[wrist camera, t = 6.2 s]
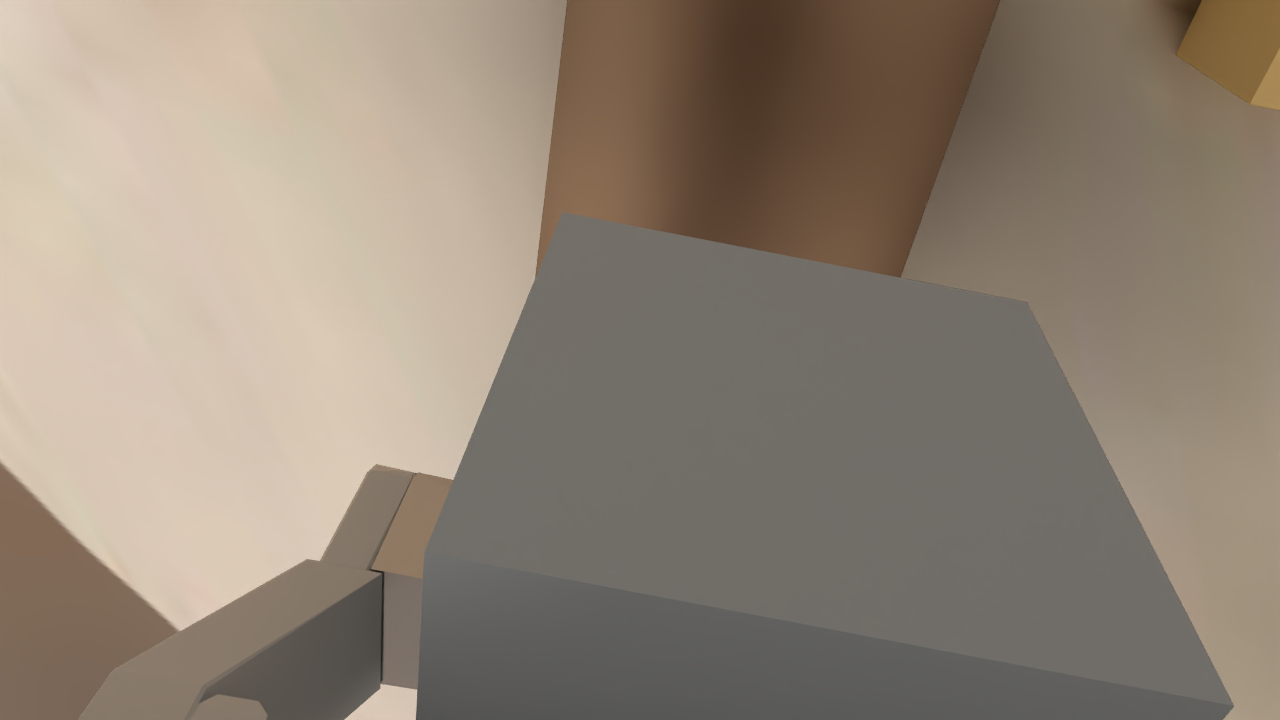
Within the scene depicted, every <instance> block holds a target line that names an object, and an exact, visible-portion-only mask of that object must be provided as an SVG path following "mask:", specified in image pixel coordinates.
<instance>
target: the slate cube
mask: <svg viewBox="0 0 1280 720" xmlns="http://www.w3.org/2000/svg"><path fill="white" fill-rule="evenodd" d="M1233 707H1234V705H1233V703H1232V701H1231V699H1230V697H1229V695H1228V693H1227V691H1226V689H1225V687H1224V685H1223V683H1222V681H1221V679H1220V677H1219V675H1218V673H1217V671H1216V670H1215V668H1214V666H1213V664H1212V662H1211V660H1210V658H1209V656H1208V654H1207V652H1206V650H1205V648H1204V646H1203V644H1202V642H1201V640H1200V638H1199V636H1198V634H1197V633H1196V631H1195V629H1194V627H1193V625H1192V623H1191V621H1190V619H1189V617H1188V615H1187V613H1186V611H1185V609H1184V607H1183V605H1182V603H1181V601H1180V599H1179V597H1178V595H1177V594H1176V592H1175V590H1174V588H1173V586H1172V584H1171V582H1170V580H1169V578H1168V576H1167V574H1166V572H1165V570H1164V568H1163V566H1162V564H1161V562H1160V560H1159V558H1158V557H1157V555H1156V553H1155V551H1154V549H1153V547H1152V545H1151V543H1150V541H1149V539H1148V537H1147V535H1146V533H1145V531H1144V529H1143V527H1142V525H1141V523H1140V521H1139V520H1138V518H1137V516H1136V514H1135V512H1134V510H1133V508H1132V506H1131V504H1130V502H1129V500H1128V498H1127V496H1126V494H1125V492H1124V490H1123V488H1122V486H1121V484H1120V482H1119V481H1118V479H1117V477H1116V475H1115V473H1114V471H1113V469H1112V467H1111V465H1110V463H1109V461H1108V459H1107V457H1106V455H1105V453H1104V451H1103V449H1102V447H1101V445H1100V444H1099V442H1098V440H1097V438H1096V436H1095V434H1094V432H1093V430H1092V428H1091V426H1090V424H1089V422H1088V420H1087V418H1086V416H1085V414H1084V412H1083V410H1082V408H1081V407H1080V405H1079V403H1078V401H1077V399H1076V397H1075V395H1074V393H1073V391H1072V389H1071V387H1070V385H1069V383H1068V381H1067V379H1066V377H1065V375H1064V373H1063V371H1062V369H1061V368H1060V366H1059V364H1058V362H1057V360H1056V358H1055V356H1054V354H1053V352H1052V350H1051V348H1050V346H1049V344H1048V342H1047V340H1046V338H1045V336H1044V334H1043V332H1042V331H1041V329H1040V327H1039V325H1038V323H1037V321H1036V319H1035V317H1034V315H1033V313H1032V311H1031V309H1030V307H1029V305H1028V303H1027V302H1023V301H1018V300H1013V299H1008V298H1003V297H998V296H993V295H987V294H982V293H977V292H972V291H967V290H962V289H956V288H951V287H946V286H941V285H936V284H931V283H925V282H920V281H915V280H910V279H905V278H900V277H895V276H889V275H884V274H879V273H874V272H869V271H864V270H858V269H853V268H848V267H843V266H838V265H833V264H827V263H822V262H817V261H812V260H807V259H802V258H797V257H791V256H786V255H781V254H776V253H771V252H766V251H760V250H755V249H750V248H745V247H740V246H735V245H729V244H724V243H719V242H714V241H709V240H704V239H698V238H693V237H688V236H683V235H678V234H673V233H668V232H662V231H657V230H652V229H647V228H642V227H637V226H631V225H626V224H621V223H616V222H611V221H606V220H600V219H595V218H590V217H585V216H580V215H575V214H570V213H564V212H562V214H561V217H560V219H559V221H558V224H557V226H556V229H555V231H554V234H553V236H552V239H551V241H550V244H549V246H548V249H547V251H546V254H545V256H544V258H543V261H542V263H541V266H540V268H539V271H538V273H537V276H536V278H535V281H534V283H533V286H532V288H531V290H530V293H529V295H528V298H527V300H526V303H525V305H524V308H523V310H522V313H521V315H520V318H519V320H518V323H517V325H516V327H515V330H514V332H513V335H512V337H511V340H510V342H509V345H508V347H507V350H506V352H505V355H504V357H503V359H502V362H501V364H500V367H499V369H498V372H497V374H496V377H495V379H494V382H493V384H492V387H491V389H490V391H489V394H488V396H487V399H486V401H485V404H484V406H483V409H482V411H481V414H480V416H479V419H478V421H477V424H476V426H475V428H474V431H473V433H472V436H471V438H470V441H469V443H468V446H467V448H466V451H465V453H464V456H463V458H462V460H461V463H460V465H459V468H458V470H457V473H456V475H455V478H454V480H453V483H452V485H451V488H450V490H449V493H448V495H447V497H446V500H445V502H444V505H443V507H442V510H441V512H440V515H439V517H438V520H437V522H436V525H435V527H434V529H433V532H432V534H431V537H430V539H429V542H428V544H427V547H426V549H425V552H424V569H423V589H422V609H421V630H420V650H419V670H418V691H417V711H416V720H1223V719H1224V718H1225V716H1226V715H1227V714H1228V713H1229V712H1230V710H1231V709H1232V708H1233Z"/></svg>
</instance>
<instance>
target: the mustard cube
mask: <svg viewBox="0 0 1280 720" xmlns="http://www.w3.org/2000/svg"><path fill="white" fill-rule="evenodd" d="M1176 55H1177V56H1178V57H1180V58H1181V59H1183V60H1184V61H1186V62H1187V63H1189V64H1190V65H1192V66H1193V67H1195V68H1196V69H1198V70H1199V71H1201V72H1202V73H1204V74H1205V75H1207V76H1208V77H1210V78H1211V79H1213V80H1214V81H1216V82H1217V83H1219V84H1220V85H1222V86H1223V87H1225V88H1226V89H1228V90H1229V91H1231V92H1232V93H1233V94H1235V95H1236V96H1238V97H1239V98H1241V99H1242V100H1244V101H1245V102H1247V103H1248V104H1251V105H1256V106H1260V107H1265V108H1270V109H1275V110H1280V0H1202V1H1201V3H1200V5H1199V7H1198V9H1197V11H1196V14H1195V16H1194V18H1193V20H1192V22H1191V24H1190V26H1189V28H1188V30H1187V32H1186V34H1185V37H1184V39H1183V41H1182V43H1181V45H1180V47H1179V49H1178V51H1177V53H1176Z"/></svg>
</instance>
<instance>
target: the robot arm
mask: <svg viewBox="0 0 1280 720" xmlns="http://www.w3.org/2000/svg"><path fill="white" fill-rule="evenodd" d="M452 483H453V480H451V479H446V478H441V477H437V476H432V475H428V474H423V473H413V472H409V471H404V470H400V469H395V468H391V467H386V466H382V465H377V464H376V465H375V466H374V467H373V468H371V469H370V470H369V471H368V472H367V474H366V476H365V478H364V479H363V481H362V483H361V485H360V487H359V489H358V491H357V493H356V494H355V496H354V498H353V500H352V502H351V504H350V506H349V507H348V509H347V511H346V513H345V515H344V517H343V519H342V521H341V522H340V524H339V526H338V528H337V530H336V532H335V534H334V536H333V537H332V539H331V541H330V543H329V545H328V547H327V549H326V551H325V552H324V554H323V556H322V558H321V560H320V561H315V560H309V559H306V560H305V561H303V562H301V563H299V564H298V565H296V566H294V567H292V568H291V569H289V570H287V571H285V572H284V573H282V574H280V575H278V576H277V577H275V578H273V579H271V580H270V581H268V582H266V583H264V584H263V585H261V586H259V587H257V588H256V589H254V590H252V591H250V592H249V593H247V594H245V595H243V596H242V597H240V598H238V599H236V600H235V601H233V602H231V603H229V604H228V605H226V606H224V607H222V608H221V609H219V610H217V611H215V612H214V613H212V614H210V615H208V616H206V617H205V618H203V619H201V620H199V621H198V622H196V623H194V624H192V625H191V626H189V627H187V628H185V629H184V630H182V631H180V632H178V633H177V634H175V635H173V636H171V637H170V638H168V639H166V640H165V641H163V642H161V643H159V644H157V645H156V646H154V647H152V648H151V649H149V650H147V651H145V652H143V653H142V654H140V655H138V656H136V657H135V658H133V659H131V660H129V661H128V662H126V663H124V664H122V665H121V666H119V667H117V668H115V669H114V670H112V672H111V673H110V675H109V676H108V677H107V679H106V680H105V682H104V683H103V685H102V686H101V688H100V689H99V690H98V692H97V693H96V695H95V696H94V698H93V699H92V701H91V702H90V703H89V705H88V706H87V707H86V709H85V710H84V712H83V713H82V715H81V716H80V717H79V719H78V720H344V719H345V718H347V717H348V716H349V715H350V714H351V713H352V712H353V711H355V710H356V709H357V708H358V707H359V706H360V705H361V704H363V703H364V702H365V701H366V700H367V699H368V698H370V697H371V696H372V695H373V694H374V693H375V692H376V691H378V690H379V689H380V684H386V685H392V686H399V687H405V688H411V689H417V690H418V670H419V650H420V630H421V609H422V589H423V569H424V552H425V549H426V547H427V544H428V542H429V539H430V537H431V534H432V532H433V529H434V527H435V525H436V522H437V520H438V517H439V515H440V512H441V510H442V507H443V505H444V502H445V500H446V497H447V495H448V493H449V490H450V488H451V485H452Z"/></svg>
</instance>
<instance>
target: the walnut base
mask: <svg viewBox="0 0 1280 720" xmlns="http://www.w3.org/2000/svg"><path fill="white" fill-rule="evenodd" d="M999 2H1000V0H567V8H566V17H565V26H564V34H563V43H562V51H561V60H560V69H559V77H558V86H557V95H556V103H555V112H554V121H553V129H552V138H551V146H550V155H549V164H548V172H547V181H546V190H545V198H544V207H543V215H542V224H541V233H540V241H539V250H538V259H537V267H536V276H537V273H538V271H539V268H540V266H541V263H542V261H543V258H544V256H545V254H546V251H547V249H548V246H549V244H550V241H551V239H552V236H553V234H554V231H555V229H556V226H557V224H558V221H559V219H560V217H561V214H562V212H564V213H570V214H575V215H580V216H585V217H590V218H595V219H600V220H606V221H611V222H616V223H621V224H626V225H631V226H637V227H642V228H647V229H652V230H657V231H662V232H668V233H673V234H678V235H683V236H688V237H693V238H698V239H704V240H709V241H714V242H719V243H724V244H729V245H735V246H740V247H745V248H750V249H755V250H760V251H766V252H771V253H776V254H781V255H786V256H791V257H797V258H802V259H807V260H812V261H817V262H822V263H827V264H833V265H838V266H843V267H848V268H853V269H858V270H864V271H869V272H874V273H879V274H884V275H889V276H895V277H901V274H902V272H903V269H904V266H905V263H906V260H907V258H908V255H909V252H910V249H911V247H912V244H913V241H914V238H915V235H916V233H917V230H918V227H919V224H920V222H921V219H922V216H923V213H924V210H925V208H926V205H927V202H928V199H929V196H930V194H931V191H932V188H933V185H934V183H935V180H936V177H937V174H938V171H939V169H940V166H941V163H942V160H943V158H944V155H945V152H946V149H947V146H948V144H949V141H950V138H951V135H952V133H953V130H954V127H955V124H956V121H957V119H958V116H959V113H960V110H961V108H962V105H963V102H964V99H965V96H966V94H967V91H968V88H969V85H970V83H971V80H972V77H973V74H974V71H975V69H976V66H977V63H978V60H979V58H980V55H981V52H982V49H983V46H984V44H985V41H986V38H987V35H988V33H989V30H990V27H991V24H992V21H993V19H994V16H995V13H996V10H997V8H998V5H999ZM536 276H535V278H536Z"/></svg>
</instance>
